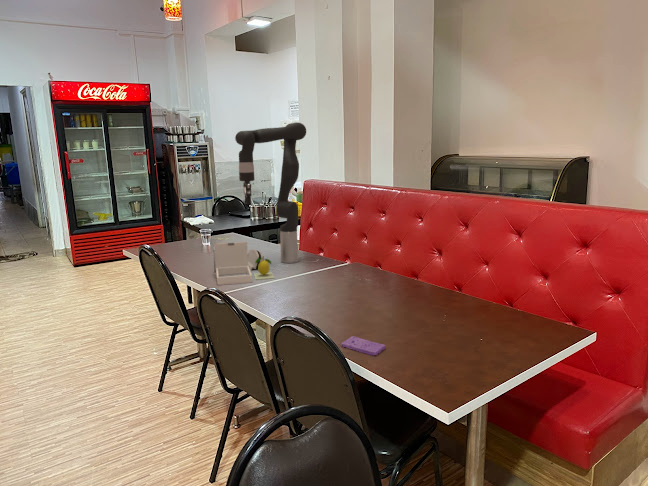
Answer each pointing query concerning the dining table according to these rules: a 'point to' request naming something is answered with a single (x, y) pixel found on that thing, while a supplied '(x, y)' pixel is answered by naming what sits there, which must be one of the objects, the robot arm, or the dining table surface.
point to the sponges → (363, 345)
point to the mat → (263, 276)
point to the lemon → (263, 265)
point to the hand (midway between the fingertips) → (248, 203)
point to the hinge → (254, 259)
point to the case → (231, 263)
